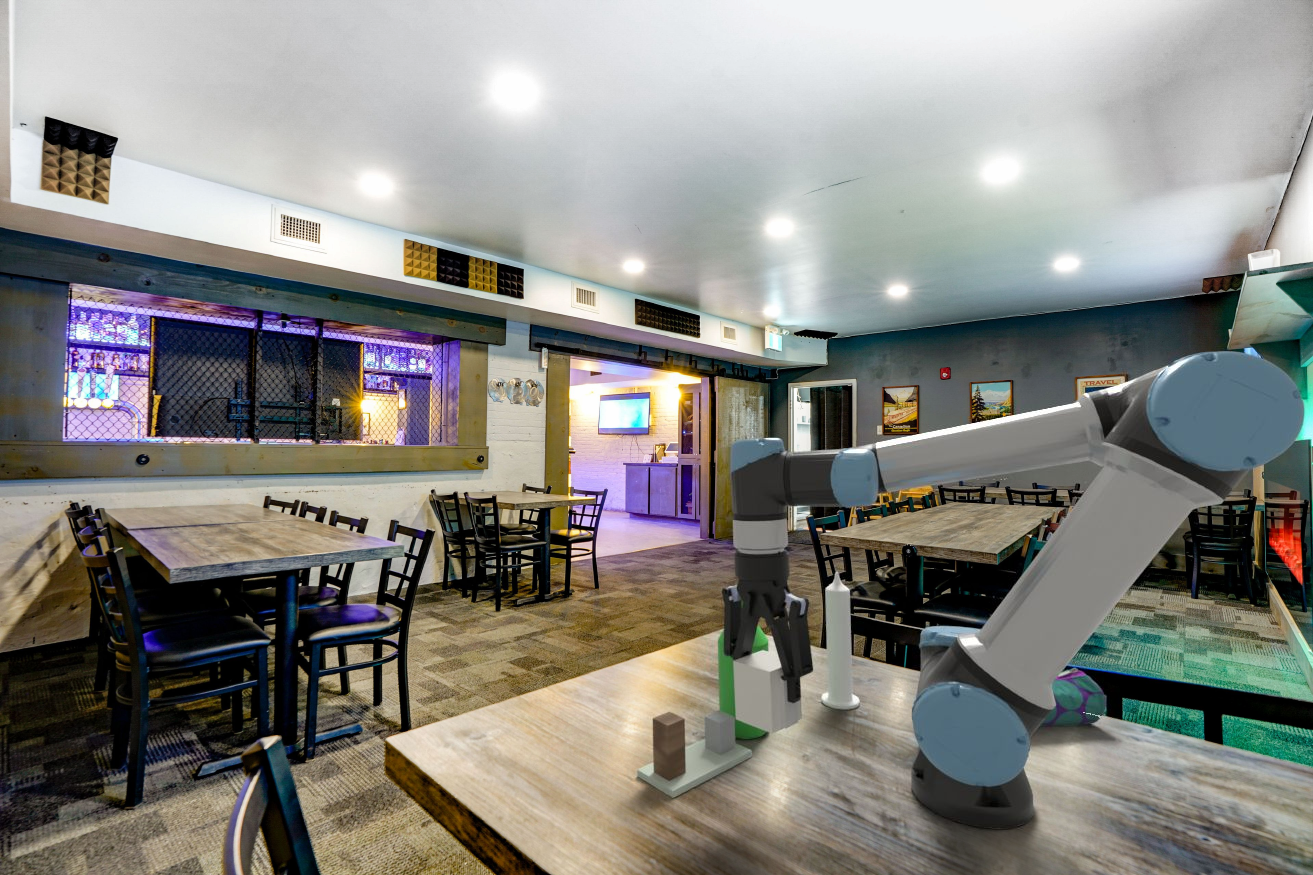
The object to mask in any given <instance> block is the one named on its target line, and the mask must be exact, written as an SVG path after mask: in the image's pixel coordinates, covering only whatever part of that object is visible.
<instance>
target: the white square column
mask: <svg viewBox="0 0 1313 875" xmlns="http://www.w3.org/2000/svg"><path fill="white" fill-rule="evenodd" d="M733 666H734V689H735V712H736V719H737V720H739V721H742V722H744V723H747V724H749V725H752V726H754V727H757V728H759V729H762V730H764V731H767V732H766V733H770V734H776V733H777V732H778V731H781V730H783V729H784V728H782V727H781V709H780V687H779V677H780V676H783V675H784V674H783V670H782V667H781V663H780V660H779V657H778V653H777V652H776V653H775V652H773V651H769V652H768V651H765V650H762V651H759V652H756V653H753V654H751V655H748V656H745V657H743V658H740V659H737V660H734V661H733ZM800 690H802V689H800ZM797 709H798V721H801V720H802V719H803V713H802V711H803V710H802V698H801V699H800V701H798V702H797Z"/></svg>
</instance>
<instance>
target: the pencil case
mask: <svg viewBox="0 0 1313 875" xmlns="http://www.w3.org/2000/svg"><path fill="white" fill-rule="evenodd" d="M1052 690H1053V694H1054V698H1055V702H1056V706H1055V707H1054V709H1053V710H1052V711H1051V712H1050V714H1049V715H1048V716H1047V717H1046V719H1045V720H1044V721H1043V722H1042V723H1041V725H1040V726H1039V727H1068V726H1082V725H1090V724H1091V725H1093V724H1095V723H1097V722H1098V721H1099V720H1100V719H1101V718H1099V717H1098V716H1095V715H1100V716H1102V717H1103V715H1104V713H1105V711H1106V705H1107V703H1106V702H1107V700H1106V696H1105V693H1104V691H1103V689H1102V688H1101V686H1099V685H1098V683H1096V681H1094V680H1093V679H1092V677H1091V676H1089V675H1087V674H1086V673H1085V672H1084V671H1082V670H1079V669H1078V668H1076V667H1073V668H1071V669H1066V670H1063V671H1062V672H1061V673H1060V674H1059V676H1058V677H1057V678H1056V679H1055V680H1054V682H1053V683H1052ZM1102 694H1103V695H1102ZM1083 712H1085V713H1083ZM1086 713H1091V715H1090V714H1086ZM1092 714H1095V715H1092Z"/></svg>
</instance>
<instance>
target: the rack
mask: <svg viewBox="0 0 1313 875" xmlns="http://www.w3.org/2000/svg"><path fill="white" fill-rule="evenodd" d="M752 757H753V754H752V750H751V749H750V748H748V747H745V746H743V745H741V744H739V743H736V737H735V717H734V716H732V715H729V714H727V713H724V712H722V711H720V710H719V709H718V710H717V711H715V712H711V713H709V714H706V715H705V716H704V738H703V739H700V740H699V741H697V742H694V743H691V744H690V745H687V746H685V759H686V773H684V774H682V775H680V776H678V777H676V778H674V779H672V780H670V781H668V780H666V779H664V778H663V777H661V776H659V775H658V774H656V773H654V764H653V761H652V762H650V763H648V764H646V765H644V766H642V767H640V768H637V769H636V772H637V774H636V775H637V777H638V778H639V779H641V780H643V781H644V782H647V783H648V785H649V784H650V785H652V786H653V787H655V788H656V789H658V790H659V791H661V792H662V793H665V794H666V795H667V796H669V797H670V798H671V799H674V798H676V797H678V796H680V795H681V794H684V793H685V792H688V791H689V790H691V789H693V788H695V787H697V786H699V785H701V784H703V783H704V782H707V781H708V780H710V779H712V778H714V777H716V776H719V775H720V774H723V773H724V772H726V771H727V770H730V769H732V768H733V767H735V766H737V765H739V764H741V763H743V762H745V761H746V760H749V759H751V758H752Z"/></svg>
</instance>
